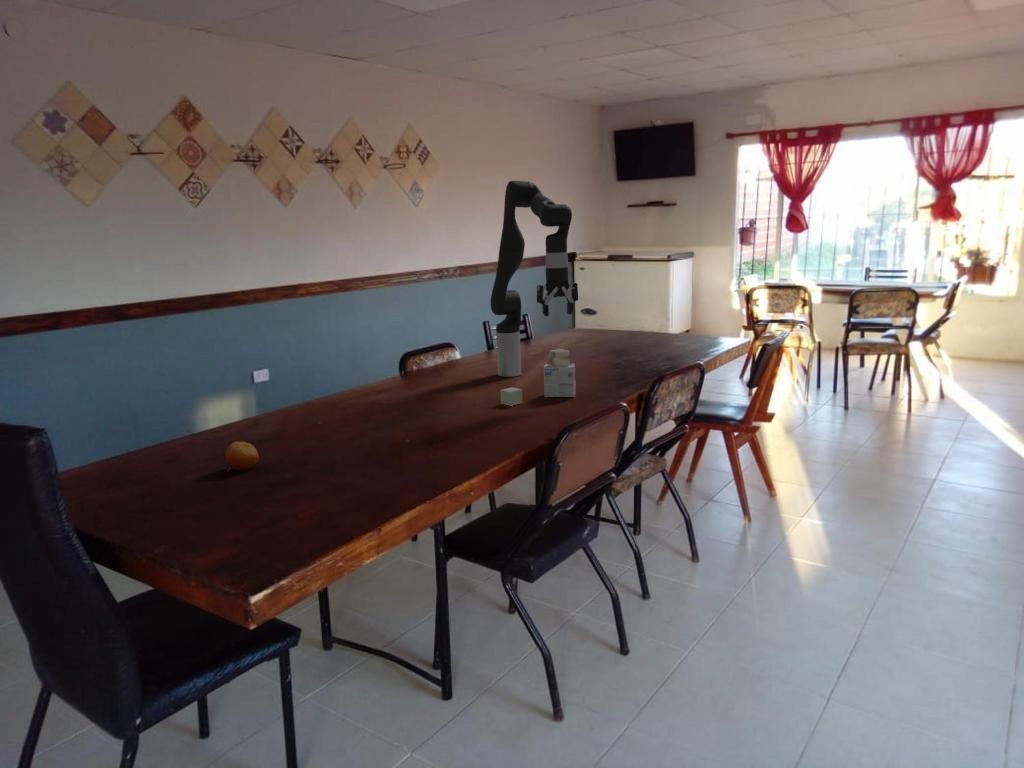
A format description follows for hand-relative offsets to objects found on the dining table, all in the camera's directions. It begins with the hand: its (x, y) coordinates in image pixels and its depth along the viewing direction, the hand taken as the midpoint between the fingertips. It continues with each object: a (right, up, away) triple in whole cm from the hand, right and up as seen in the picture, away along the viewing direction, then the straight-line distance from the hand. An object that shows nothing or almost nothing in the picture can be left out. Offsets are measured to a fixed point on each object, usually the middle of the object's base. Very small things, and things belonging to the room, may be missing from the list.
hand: (557, 315), depth 249 cm
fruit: (-84, -45, -60) cm, 113 cm away
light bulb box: (+1, -27, +6) cm, 28 cm away
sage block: (-16, -30, -3) cm, 34 cm away
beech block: (+1, -17, +4) cm, 17 cm away
